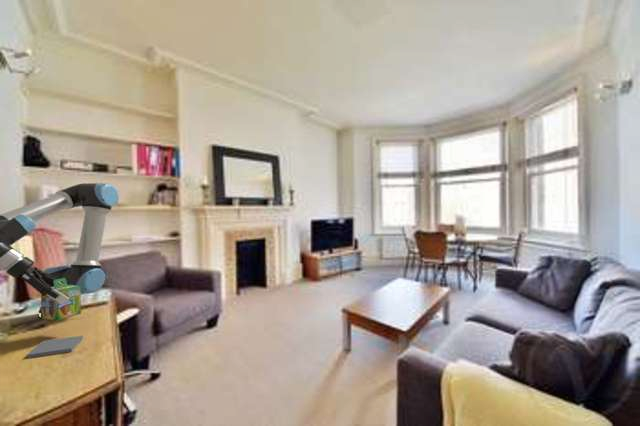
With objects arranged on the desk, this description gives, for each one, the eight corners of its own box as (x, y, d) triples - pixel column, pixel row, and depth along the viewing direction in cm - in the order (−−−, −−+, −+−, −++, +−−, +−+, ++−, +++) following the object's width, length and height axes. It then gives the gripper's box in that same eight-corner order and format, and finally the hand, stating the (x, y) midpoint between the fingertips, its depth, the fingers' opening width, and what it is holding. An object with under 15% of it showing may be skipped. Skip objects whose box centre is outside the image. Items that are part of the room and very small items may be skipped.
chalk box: (57, 321, 113) (56, 282, 113) (39, 319, 116) (39, 281, 116) (82, 313, 122) (81, 277, 122) (65, 311, 125) (65, 276, 125)
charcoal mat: (42, 344, 111) (42, 340, 111) (82, 338, 116) (82, 335, 116) (26, 358, 100) (26, 354, 100) (71, 351, 105) (71, 348, 105)
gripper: (15, 266, 120) (64, 297, 129) (-7, 277, 100) (54, 314, 109) (32, 252, 123) (80, 283, 132) (15, 260, 103) (72, 297, 112)
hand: (68, 297), depth 120 cm, fingers closed on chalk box, 12 cm apart
